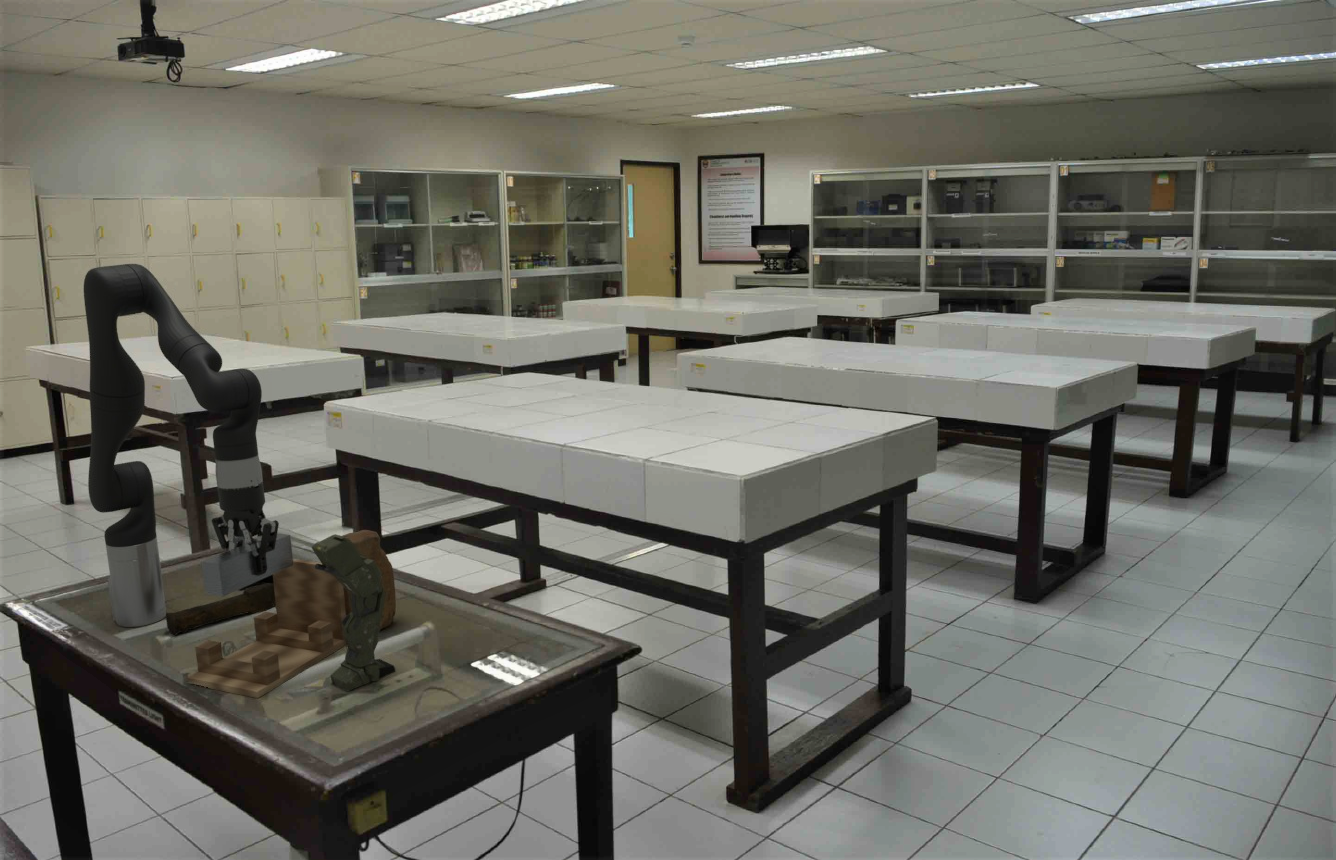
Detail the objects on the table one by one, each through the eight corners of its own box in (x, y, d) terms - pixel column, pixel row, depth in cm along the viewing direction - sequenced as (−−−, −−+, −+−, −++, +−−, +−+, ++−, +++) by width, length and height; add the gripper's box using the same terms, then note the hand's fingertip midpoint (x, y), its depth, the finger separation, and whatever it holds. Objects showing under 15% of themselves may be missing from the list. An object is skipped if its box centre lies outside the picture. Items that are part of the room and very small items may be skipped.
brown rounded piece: (351, 641, 189) (343, 544, 184) (334, 630, 194) (325, 535, 190) (402, 625, 196) (394, 531, 192) (384, 615, 201) (376, 523, 197)
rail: (205, 594, 169) (201, 561, 167) (277, 563, 184) (273, 533, 183) (222, 596, 167) (218, 563, 166) (293, 565, 183) (290, 534, 181)
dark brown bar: (172, 639, 191) (169, 613, 190) (166, 632, 195) (162, 606, 194) (287, 609, 206) (285, 584, 205) (279, 603, 209) (277, 578, 208)
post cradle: (187, 683, 172) (176, 599, 169) (283, 632, 193) (275, 556, 190) (257, 698, 166) (248, 611, 163) (348, 643, 188) (341, 565, 184)
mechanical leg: (392, 651, 182) (348, 518, 171) (414, 661, 178) (371, 525, 167) (333, 692, 173) (282, 554, 162) (355, 703, 169) (304, 563, 158)
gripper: (193, 484, 171) (204, 575, 175) (254, 489, 166) (265, 584, 169) (226, 474, 178) (237, 562, 181) (286, 479, 173) (296, 570, 176)
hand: (250, 572), depth 175 cm, fingers closed on rail, 4 cm apart
